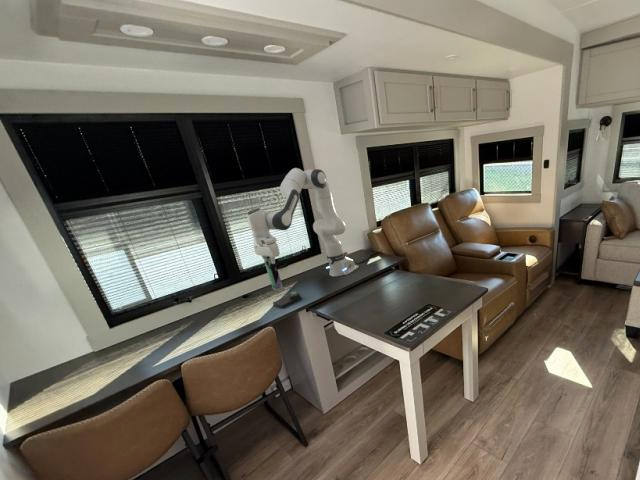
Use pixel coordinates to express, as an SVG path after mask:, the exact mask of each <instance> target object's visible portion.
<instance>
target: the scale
mask: <svg viewBox="0 0 640 480" xmlns="http://www.w3.org/2000/svg"><path fill="white" fill-rule="evenodd" d="M296 293H297V295H295V296H291V293H289V294H288V295H286V296H284V297H281V298H279V299H277V300H275V301H273V302H272V305H273V307H276V308H280V309H283V310H284V309H286V308H287V307H289V306H291V305H294V304H296V303H298V302H300V301H301V300H302V296H301V293H300V292H298V291H296Z"/></svg>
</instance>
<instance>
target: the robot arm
mask: <svg viewBox="0 0 640 480" xmlns="http://www.w3.org/2000/svg"><path fill="white" fill-rule="evenodd" d="M327 180H328V179H327V176H326V173H325V172H324V171H323V169H318V168H315V169H306V170H302V169H300V168H298V167H294V168H292V169H291V170H289V172H288V173H287V174H286V175H285V177H284V179H283V180H282V182H281V184H280V185H279V191H280V193H281V195H282V196H283V197H284V198H285V202H284V204H283V206H282V209H280V210H278V211H268V210H267V211H266V210H265V209H262V208H254V209H253V208H252V209H250V210H249V211H248V212H247V214H246V218H247V222H248V226H249V228H250V231H251V234H252V235H251V236H252V238H253V242H252V243H253V249H254V253H255V254H256V256H261V258H262V259H263V261H264V260H266V256H269V257H270V258H271V264H275V263H276V258H277V257H279V256H280V253H281V252H280V248H279V245H278V243H277V241H278V239H277V238H276V237H275V236H273V235H272V234H271V232H270V230H273V231H277V230H278V231H286V230H288V229H289V228H291V225H292V222H293V216H294V213H295V212H296V208H297V206H298V204H299V201H300V197H301V195H300V194H301V192H302V190H312V191H313V195H314V200H315V201H314V202H315V206H316V210H317V212H318V213H319V214H320V215H321V216H322V218H319V219H317V220H315V221H314V222H313V224H312V229H313V232H315V234H317V235H318V236H319V238H320V239H321V241H322V243H323V245H324V248H325V252H326V259H327V263H328V266H326V267H325V269H329V276H330V277H340V276H347V275H350V274H351V273H353V272H355V271H357V270H358V269H359V268H360V266H359V265H360V264H362V263H364V262H366V261H367V260H368V259H369V258H370V257H371V256H372V255H375V254H377V253H378V252H376V251H375V252H372V253H370V254H369V255H367V257H366V258H365V259H363V260H362V261H360V262H357V263H356V260H355V259H354V258H351V257H348V255H349V253H348V251H343V247H342V246H343V245H342V242H341V241H340V239H338V238H337V236H340V235H343V234H344V233H345V231H346V223H345V221H344V220H342V219H341V218H340V216H339V214H338V213H337V212H336V208H335V206H334V205H335V204H334V200H333V195H332V190H331V188H330V184H329V183H328V181H327Z"/></svg>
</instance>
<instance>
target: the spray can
mask: <svg viewBox="0 0 640 480" xmlns="http://www.w3.org/2000/svg"><path fill="white" fill-rule="evenodd" d="M263 261H264V265H265V268H266V271H267V274H268V278H269V281H270V284H271V287H272V290H273V291H279V290H281V289H283V287H284V286H283V283H282V279H281V276H280V273H279V270H278V268H277V263H276V262H275V264H271V258H270V257H269V256H266V260H264V259H263Z"/></svg>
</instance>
